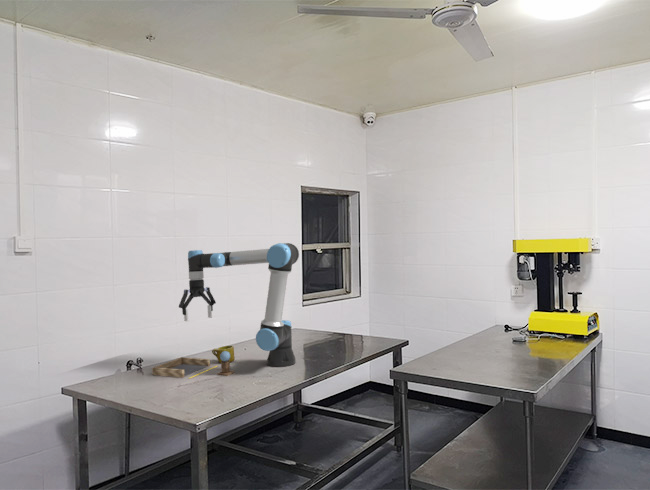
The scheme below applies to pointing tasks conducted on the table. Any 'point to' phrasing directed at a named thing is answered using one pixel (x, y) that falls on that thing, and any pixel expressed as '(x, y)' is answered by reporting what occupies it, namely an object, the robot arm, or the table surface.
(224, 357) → the ball
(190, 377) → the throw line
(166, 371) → the wooden u-shaped frame
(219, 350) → the mug
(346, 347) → the table surface
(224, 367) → the tee
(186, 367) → the mat
